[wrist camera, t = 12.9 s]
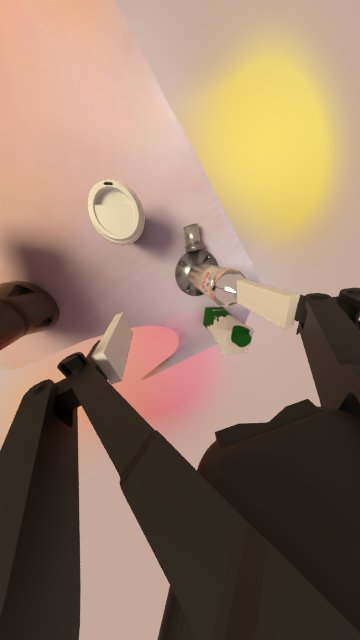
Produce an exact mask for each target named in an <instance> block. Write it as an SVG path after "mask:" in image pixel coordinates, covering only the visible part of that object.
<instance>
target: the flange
mask: <svg viewBox="0 0 360 640" xmlns="http://www.w3.org/2000/svg"><path fill="white" fill-rule="evenodd" d="M184 233H185V239H186V245H187V247H185V249H186V252H188V253H186V254H185V255H184V256H183V257H182V258H181V259H180V260H179V262H178V264H177V267H176V272H175V277H176V281H177V284H178V286H179V287H180V288H181V290H182V291H183V292H185V293H187V294H189V295H193V296H198V295H202V294H204V293H203V292H201V291H200V290H199V289H197V288H196V287H195V286H194V285H192V284H191V283H190V281H189V279H188V271H189V269H190V268H191V266H193V265H194V264H197V263H202V264H208V265H213V266H218V265H217V262H216V260H215V258H214V257H213V256H212V255H211V254H210V253H208V252H207V251H204V250H199V249H203V248H204V243H201V242H200V234H199V226H198V224H192V225H189V226H186V227H184Z"/></svg>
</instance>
